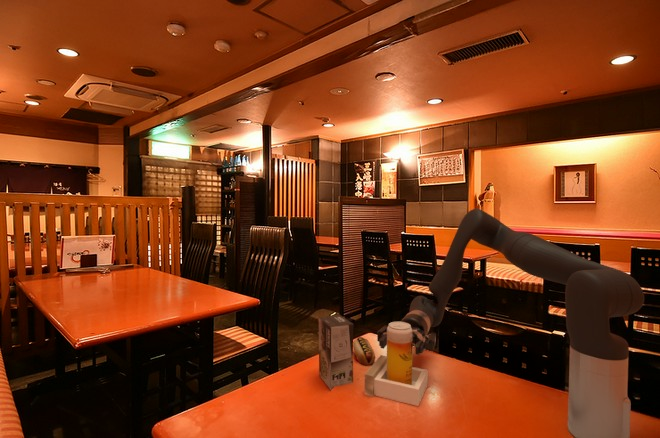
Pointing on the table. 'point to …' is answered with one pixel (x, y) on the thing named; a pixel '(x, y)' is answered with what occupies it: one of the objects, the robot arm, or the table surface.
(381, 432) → the table surface
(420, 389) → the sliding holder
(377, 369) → the backstop board
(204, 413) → the table surface
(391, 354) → the beer can
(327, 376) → the coffee box
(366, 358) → the hot dog
